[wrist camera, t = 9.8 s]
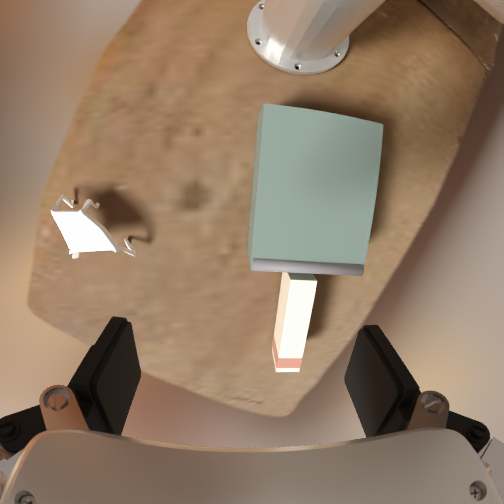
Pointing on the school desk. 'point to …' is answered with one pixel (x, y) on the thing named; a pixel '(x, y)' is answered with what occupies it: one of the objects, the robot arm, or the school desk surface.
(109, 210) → the school desk surface
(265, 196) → the block
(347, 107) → the school desk surface
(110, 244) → the white scroll-footed stand
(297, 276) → the pink-banded cream bar
